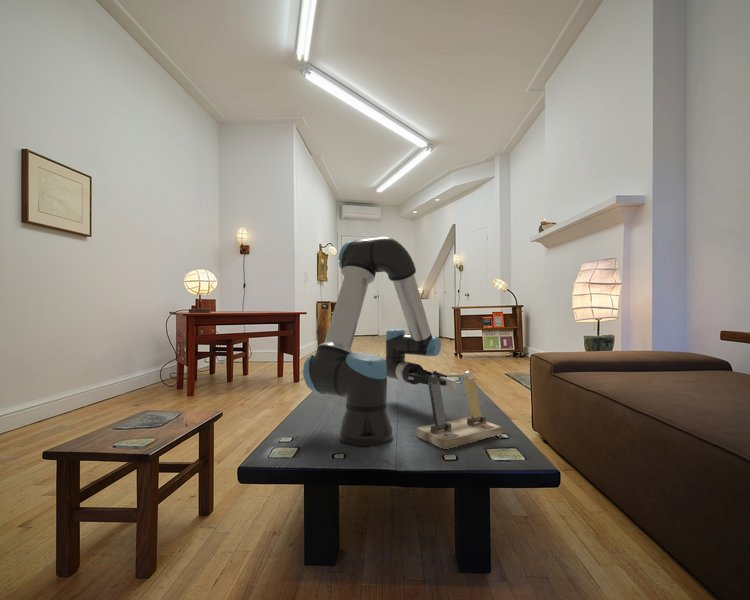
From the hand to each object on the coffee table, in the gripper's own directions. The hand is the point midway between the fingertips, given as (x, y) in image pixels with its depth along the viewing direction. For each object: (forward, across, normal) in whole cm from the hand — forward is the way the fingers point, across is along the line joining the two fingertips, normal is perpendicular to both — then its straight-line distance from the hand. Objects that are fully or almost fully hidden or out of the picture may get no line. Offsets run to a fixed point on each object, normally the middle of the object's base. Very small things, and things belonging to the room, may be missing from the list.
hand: (454, 384), depth 119 cm
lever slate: (+10, +14, -8) cm, 19 cm away
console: (+10, +8, -12) cm, 17 cm away
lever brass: (+10, 0, -8) cm, 13 cm away
